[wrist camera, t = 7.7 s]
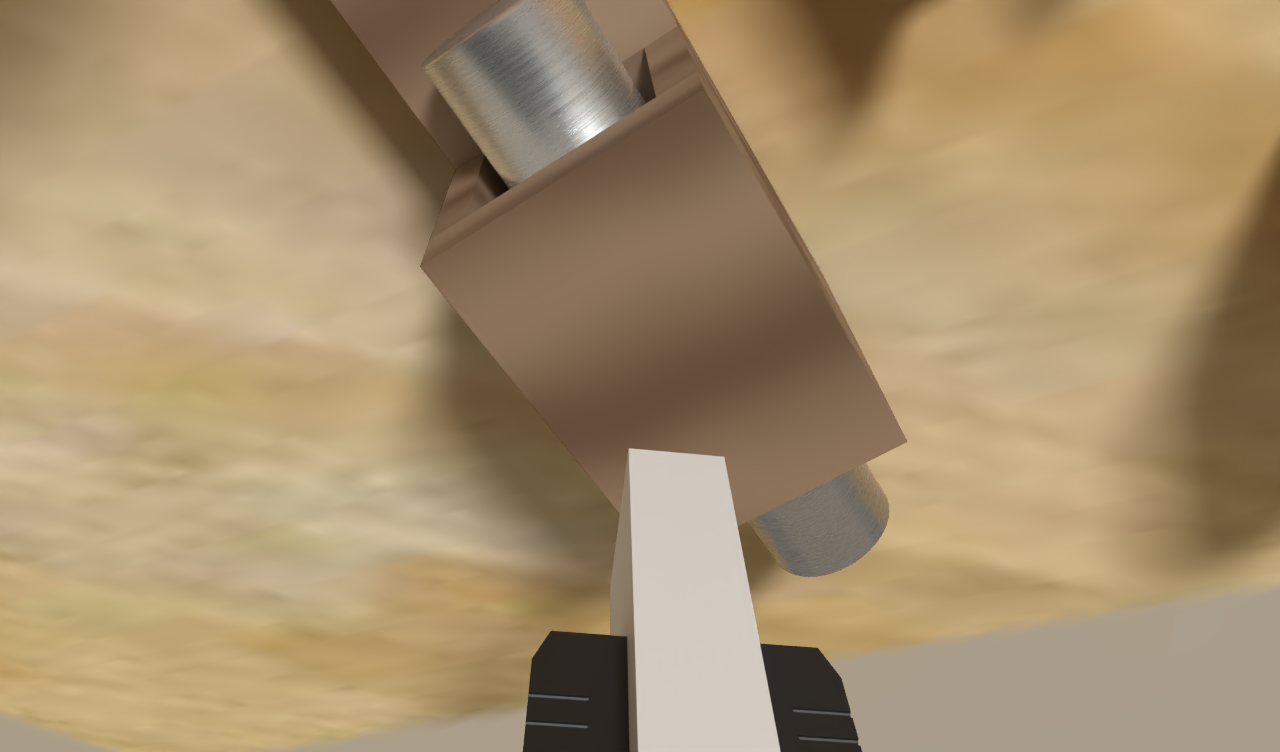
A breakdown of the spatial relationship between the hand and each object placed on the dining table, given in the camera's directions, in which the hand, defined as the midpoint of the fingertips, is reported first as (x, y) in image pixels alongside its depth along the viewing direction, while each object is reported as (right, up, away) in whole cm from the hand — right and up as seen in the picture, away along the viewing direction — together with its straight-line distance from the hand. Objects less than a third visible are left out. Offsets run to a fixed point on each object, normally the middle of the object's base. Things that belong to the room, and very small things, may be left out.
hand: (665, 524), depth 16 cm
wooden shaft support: (-2, +11, +13) cm, 17 cm away
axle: (+1, +5, +13) cm, 14 cm away
